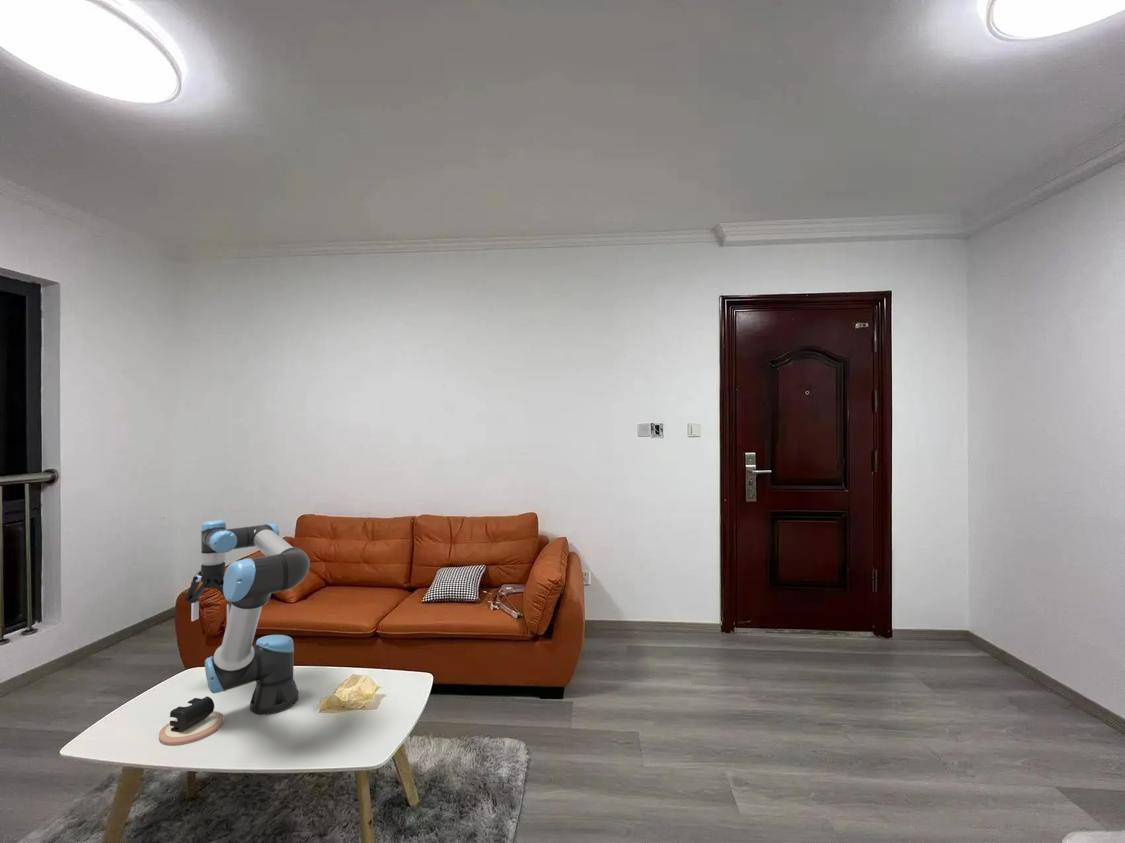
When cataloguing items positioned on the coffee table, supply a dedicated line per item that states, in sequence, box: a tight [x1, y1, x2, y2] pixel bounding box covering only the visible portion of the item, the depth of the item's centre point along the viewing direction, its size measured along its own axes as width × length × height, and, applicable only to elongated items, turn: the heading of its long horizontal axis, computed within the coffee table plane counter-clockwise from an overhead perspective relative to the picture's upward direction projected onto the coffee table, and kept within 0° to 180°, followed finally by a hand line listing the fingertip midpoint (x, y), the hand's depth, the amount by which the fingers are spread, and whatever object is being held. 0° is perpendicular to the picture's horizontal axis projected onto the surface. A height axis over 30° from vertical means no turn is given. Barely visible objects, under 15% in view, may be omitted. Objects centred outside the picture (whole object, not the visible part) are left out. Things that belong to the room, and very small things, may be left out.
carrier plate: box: [158, 710, 224, 746], centre depth 167 cm, size 17×17×2 cm
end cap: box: [169, 696, 215, 732], centre depth 167 cm, size 10×7×7 cm
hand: (212, 620), depth 191 cm, fingers open, 13 cm apart
